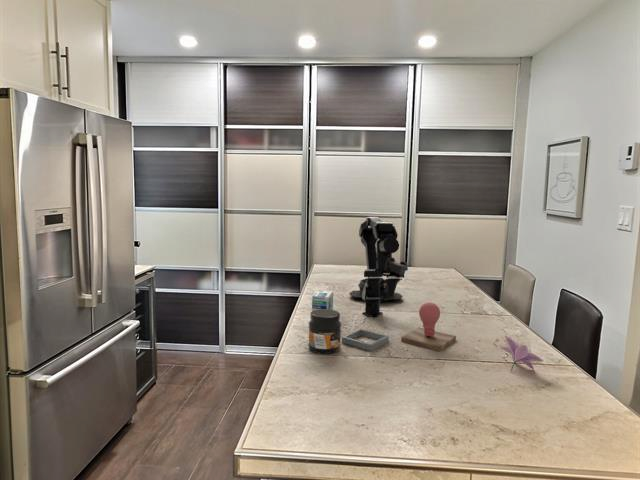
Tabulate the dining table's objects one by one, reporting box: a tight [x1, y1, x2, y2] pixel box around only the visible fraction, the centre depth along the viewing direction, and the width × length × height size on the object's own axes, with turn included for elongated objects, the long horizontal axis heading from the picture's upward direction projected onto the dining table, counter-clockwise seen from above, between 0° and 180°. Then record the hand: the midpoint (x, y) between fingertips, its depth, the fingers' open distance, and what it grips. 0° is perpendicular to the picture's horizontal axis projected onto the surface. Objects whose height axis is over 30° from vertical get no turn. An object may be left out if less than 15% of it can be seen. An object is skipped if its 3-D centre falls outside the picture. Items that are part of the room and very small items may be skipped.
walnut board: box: [400, 327, 457, 352], centre depth 154 cm, size 14×14×2 cm
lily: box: [499, 335, 545, 372], centre depth 131 cm, size 12×12×10 cm
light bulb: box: [418, 301, 441, 337], centre depth 154 cm, size 7×7×12 cm
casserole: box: [348, 278, 403, 303], centre depth 209 cm, size 25×19×8 cm
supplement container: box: [308, 309, 342, 355], centre depth 144 cm, size 10×10×12 cm
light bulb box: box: [311, 289, 334, 312], centre depth 174 cm, size 11×7×11 cm, turn 168°
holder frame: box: [341, 328, 390, 352], centre depth 151 cm, size 12×12×2 cm
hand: (384, 297), depth 165 cm, fingers open, 9 cm apart
